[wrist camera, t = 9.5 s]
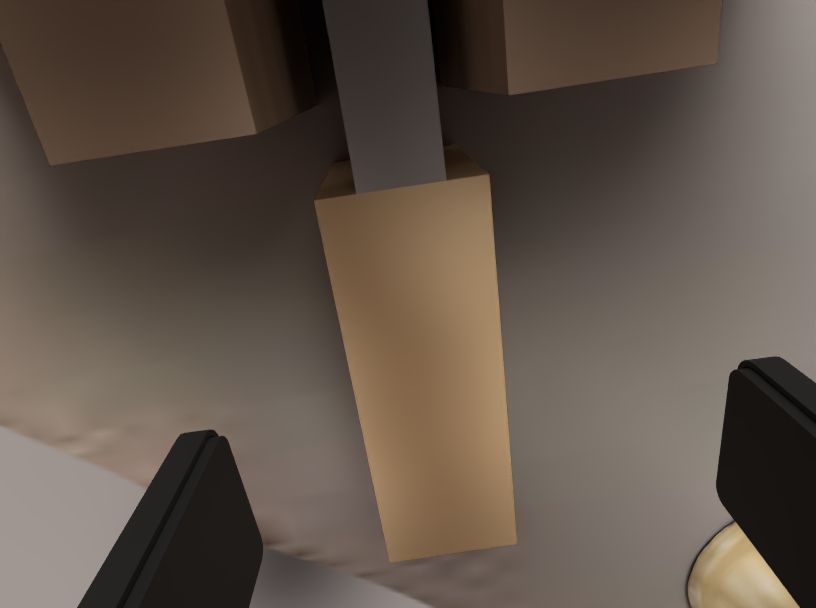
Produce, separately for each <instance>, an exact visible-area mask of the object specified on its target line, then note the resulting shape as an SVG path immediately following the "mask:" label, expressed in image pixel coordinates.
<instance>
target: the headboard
mask: <svg viewBox="0 0 816 608" xmlns="http://www.w3.org/2000/svg"><path fill="white" fill-rule="evenodd" d="M722 2H723V0H432V3H433V12H434V22H435V31H436V40H437V50H438V59H439V69H440V78H441V86H445V87H452V88H460V89H467V90H474V91H481V92H488V93H495V94H502V95H515V94H521V93H528V92H534V91H541V90H547V89H554V88H560V87H567V86H573V85H580V84H587V83H593V82H600V81H606V80H613V79H619V78H626V77H632V76H639V75H645V74H652V73H658V72H665V71H671V70H678V69H684V68H691V67H697V66H704V65H710V64H717V61H718V49H719V37H720V26H721V14H722ZM0 43H1V45H2V48H3V50H4V53H5V55H6V58H7V60H8V63H9V65H10V68H11V70H12V73H13V75H14V78H15V80H16V83H17V85H18V88H19V90H20V93H21V95H22V98H23V100H24V103H25V105H26V108H27V110H28V112H29V115H30V117H31V120H32V122H33V125H34V127H35V130H36V132H37V135H38V137H39V140H40V142H41V145H42V147H43V150H44V152H45V155H46V157H47V160H48V162H49V165H50V166H52V165H58V164H65V163H71V162H78V161H84V160H91V159H97V158H104V157H110V156H117V155H123V154H130V153H136V152H143V151H149V150H156V149H163V148H169V147H176V146H182V145H189V144H195V143H202V142H208V141H215V140H221V139H228V138H234V137H241V136H247V135H254V134H258V133H260V132H262V131H264V130H266V129H268V128H270V127H272V126H275V125H277V124H279V123H281V122H283V121H285V120H287V119H289V118H291V117H293V116H295V115H298V114H300V113H302V112H304V111H306V110H308V109H310V108H312V107H314V106H316V105H317V99H316V94H315V89H314V84H313V79H312V74H311V69H310V64H309V59H308V53H307V48H306V43H305V38H304V33H303V28H302V23H301V18H300V13H299V8H298V2H297V0H0Z"/></svg>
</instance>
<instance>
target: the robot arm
mask: <svg viewBox="0 0 816 608" xmlns="http://www.w3.org/2000/svg"><path fill="white" fill-rule="evenodd" d="M716 488H717V493H718V496H719V499H720V501H721V503H722V504H723V506H724V507H725V508H726V510H727V511H728V512H729V514H730V515H731V516H732V518H733V519H734V520H735V522H736V523H737V524H738V526H739V527H740V528H741V530H742V531H743V532H744V534H745V535H746V536H747V538H748V539H749V540H750V542H751V543H752V544H753V546H754V547H755V548H756V550H757V551H758V552H759V554H760V555H761V556H762V558H763V559H764V560H765V562H766V563H767V564H768V566H769V567H770V568H771V570H772V571H773V572H774V574H775V575H776V576H777V578H778V579H779V580H780V582H781V583H782V585H783V586H784V587H785V589H786V590H787V591H788V593H789V594H790V595H791V597H792V598H793V599H794V601H795V602H796V603H797V605H798V606H799V607H800V608H816V383H815V382H813V381H812V380H811V379H809V378H808V377H807V376H805V375H804V374H803V373H801V372H800V371H799V370H797V369H796V368H795V367H793V366H792V365H791V364H789V363H788V362H787V361H785V360H784V359H782V358H780V357H767V358H759V359H751V360H744V361H742V362H741V363H740V364H739V366H738V369H737V370H733V371H732V372H731V373H730V376H729V383H728V391H727V399H726V407H725V415H724V423H723V431H722V439H721V447H720V456H719V464H718V472H717V480H716ZM262 556H263V543H262V538H261V535H260V532H259V529H258V526H257V524H256V521H255V518H254V515H253V512H252V509H251V506H250V503H249V500H248V497H247V495H246V492H245V489H244V486H243V483H242V480H241V477H240V474H239V471H238V468H237V466H236V463H235V460H234V457H233V454H232V451H231V448H230V445H229V442H228V440H227V438H226V437H225V436H218V434H217V433H216V432H215V431H214V430H204V431H196V432H188V433H183V434H180V436H179V437H178V438H177V440H176V441H175V443H174V445H173V447H172V448H171V450H170V452H169V453H168V455H167V457H166V458H165V460H164V462H163V463H162V465H161V467H160V468H159V470H158V472H157V474H156V475H155V477H154V479H153V480H152V482H151V484H150V485H149V487H148V489H147V490H146V492H145V494H144V496H143V497H142V499H141V501H140V502H139V504H138V506H137V507H136V509H135V511H134V513H133V514H132V516H131V518H130V519H129V521H128V523H127V524H126V526H125V528H124V530H123V531H122V533H121V534H120V536H119V538H118V540H117V541H116V543H115V545H114V546H113V548H112V550H111V551H110V553H109V555H108V557H107V558H106V560H105V562H104V563H103V565H102V567H101V568H100V570H99V572H98V573H97V575H96V577H95V579H94V580H93V582H92V584H91V585H90V587H89V589H88V590H87V592H86V594H85V595H84V597H83V599H82V600H81V602H80V604H79V605H78V607H77V608H249V605H250V601H251V598H252V594H253V590H254V587H255V583H256V579H257V576H258V572H259V568H260V565H261V561H262Z"/></svg>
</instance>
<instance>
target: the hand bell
mask: <svg viewBox="0 0 816 608" xmlns="http://www.w3.org/2000/svg"><path fill="white" fill-rule="evenodd" d="M688 597H689V602H690V605H691V607H692V608H800V607H799V606H798V605H797V603H796V602H795V601H794V599H793V598H792V597H791V595H790V594H789V593H788V591H787V590H786V589H785V587H784V586H783V585H782V583H781V582H780V580H779V579H778V578H777V576H776V575H775V574H774V572H773V571H772V570H771V568H770V567H769V566H768V564H767V563H766V562H765V560H764V559H763V558H762V556H761V555H760V554H759V552H758V551H757V550H756V548H755V547H754V546H753V544H752V543H751V542H750V540H749V539H748V538H747V536H746V535H745V534H744V532H743V531H742V530H741V528H740V527H739V526H738V524H737V523H736V522H734V523H732V524H731V525H729V526H727V527H725V528H724V529H723V530H722V531H721V532H720V533H718V534H717V535H716V536H715V537H714V538H713V539H712V540H711V542H710V543H709V544H708V545H707V546H706V547H705V548H704V549H703V551H702V552H701V553H700V555H699V556H698V558H697V560H696V562H695V565H694V567H693V569H692V572H691V575H690V579H689V581H688Z"/></svg>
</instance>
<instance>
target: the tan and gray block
mask: <svg viewBox="0 0 816 608" xmlns="http://www.w3.org/2000/svg"><path fill="white" fill-rule="evenodd" d="M322 2H323V8H324V14H325V19H326V25H327V31H328V36H329V42H330V48H331V53H332V59H333V65H334V70H335V76H336V82H337V87H338V93H339V99H340V104H341V110H342V116H343V121H344V127H345V133H346V138H347V144H348V150H349V155H350V160H348V161H341V162H334V163H332V165H331V167H330V169H329V171H328V173H327V175H326V177H325V179H324V181H323V183H322V185H321V187H320V189H319V191H318V193H317V195H316V197H315V199H314V204H315V209H316V214H317V219H318V223H319V228H320V233H321V238H322V242H323V247H324V252H325V257H326V261H327V266H328V271H329V276H330V281H331V285H332V290H333V295H334V300H335V304H336V309H337V314H338V319H339V323H340V328H341V333H342V338H343V343H344V347H345V352H346V357H347V362H348V366H349V371H350V376H351V381H352V385H353V390H354V395H355V400H356V405H357V409H358V414H359V419H360V424H361V428H362V433H363V438H364V443H365V447H366V452H367V457H368V462H369V467H370V471H371V476H372V481H373V486H374V490H375V495H376V500H377V505H378V509H379V514H380V519H381V524H382V529H383V533H384V538H385V543H386V548H387V552H388V557H389V562H390V563H391V562H398V561H405V560H412V559H418V558H425V557H432V556H439V555H445V554H452V553H459V552H466V551H472V550H479V549H486V548H492V547H499V546H506V545H513V544H517V537H516V524H515V510H514V497H513V484H512V470H511V457H510V444H509V430H508V417H507V404H506V390H505V377H504V364H503V350H502V337H501V324H500V310H499V297H498V284H497V271H496V257H495V244H494V231H493V217H492V204H491V191H490V177H489V174H488V173H487V172H486V171H485V170H484V169H482V168H481V167H480V166H479V165H478V164H477V163H475V162H474V161H473V160H472V159H471V158H470V157H468V156H467V155H466V154H465V153H464V152H463V151H461V150H460V149H459V148H458V147H457V146H456V145H448V146H443V142H442V133H441V124H440V114H439V105H438V96H437V86H436V77H435V68H434V58H433V49H432V40H431V30H430V21H429V12H428V2H427V0H322Z"/></svg>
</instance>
